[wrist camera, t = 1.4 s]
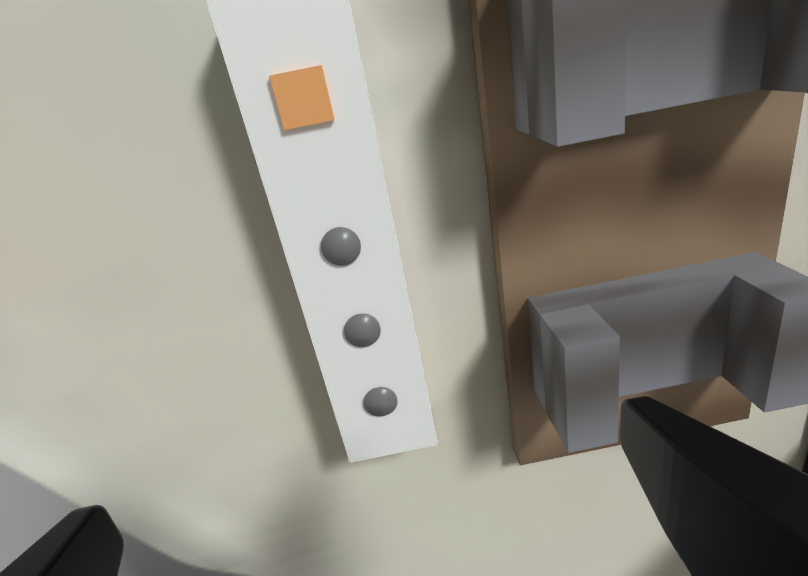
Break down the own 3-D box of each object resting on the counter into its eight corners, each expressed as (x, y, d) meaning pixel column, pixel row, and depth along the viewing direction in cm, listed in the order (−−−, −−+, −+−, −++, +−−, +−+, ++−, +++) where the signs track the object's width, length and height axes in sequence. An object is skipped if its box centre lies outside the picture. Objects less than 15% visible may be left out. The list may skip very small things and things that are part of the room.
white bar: (428, 401, 24) (439, 448, 21) (350, 418, 24) (349, 467, 21) (345, -13, 17) (344, -29, 14) (230, 10, 17) (203, -1, 14)
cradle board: (734, 405, 26) (815, 478, 21) (514, 451, 26) (548, 533, 21) (838, -268, 15) (1053, -414, 10) (449, -196, 15) (493, -311, 10)
